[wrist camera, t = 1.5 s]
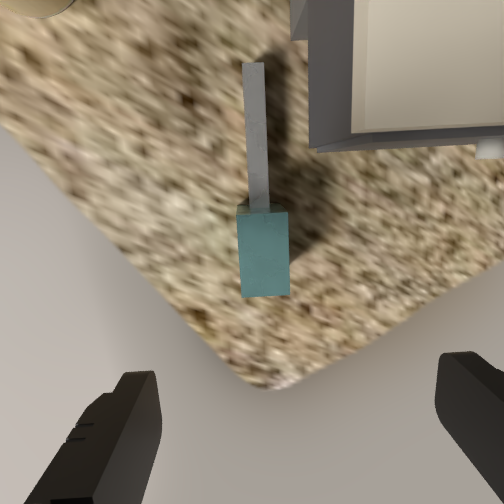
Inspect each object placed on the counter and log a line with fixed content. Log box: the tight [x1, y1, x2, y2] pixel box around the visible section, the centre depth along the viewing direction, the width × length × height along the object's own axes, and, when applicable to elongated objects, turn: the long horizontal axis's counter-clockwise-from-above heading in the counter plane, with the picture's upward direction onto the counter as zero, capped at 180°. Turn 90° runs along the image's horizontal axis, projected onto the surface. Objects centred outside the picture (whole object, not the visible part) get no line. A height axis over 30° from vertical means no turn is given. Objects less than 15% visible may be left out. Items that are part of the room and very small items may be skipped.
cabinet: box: [290, 0, 504, 159], centre depth 16 cm, size 15×17×17 cm
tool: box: [236, 62, 290, 298], centre depth 24 cm, size 16×4×6 cm, turn 3°
